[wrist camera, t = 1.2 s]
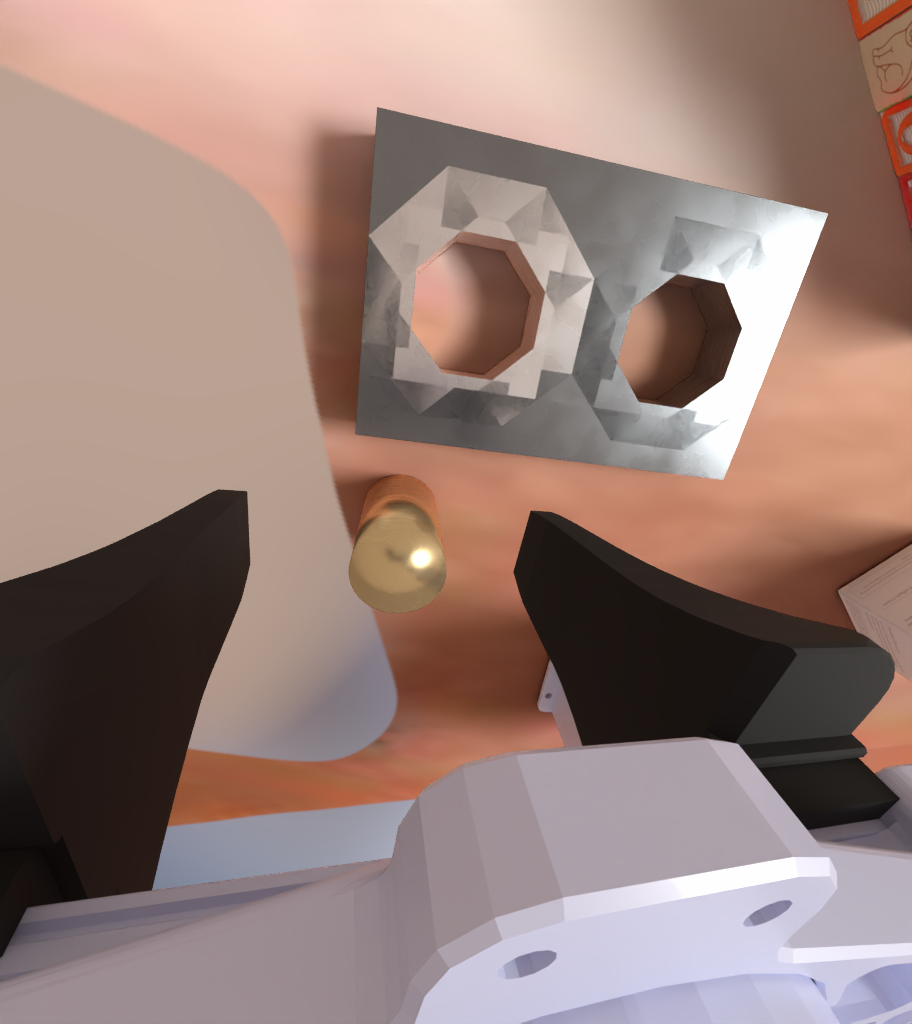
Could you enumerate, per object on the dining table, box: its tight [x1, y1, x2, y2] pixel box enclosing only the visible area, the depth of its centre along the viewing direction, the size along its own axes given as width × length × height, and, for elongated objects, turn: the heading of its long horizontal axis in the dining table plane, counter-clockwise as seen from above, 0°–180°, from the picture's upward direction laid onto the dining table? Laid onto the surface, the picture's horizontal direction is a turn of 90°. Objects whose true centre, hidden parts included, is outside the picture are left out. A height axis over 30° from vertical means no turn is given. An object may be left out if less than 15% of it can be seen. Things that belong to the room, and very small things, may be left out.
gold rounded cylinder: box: [349, 475, 446, 613], centre depth 21 cm, size 4×4×7 cm
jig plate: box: [355, 107, 828, 480], centre depth 21 cm, size 12×19×2 cm, turn 81°
